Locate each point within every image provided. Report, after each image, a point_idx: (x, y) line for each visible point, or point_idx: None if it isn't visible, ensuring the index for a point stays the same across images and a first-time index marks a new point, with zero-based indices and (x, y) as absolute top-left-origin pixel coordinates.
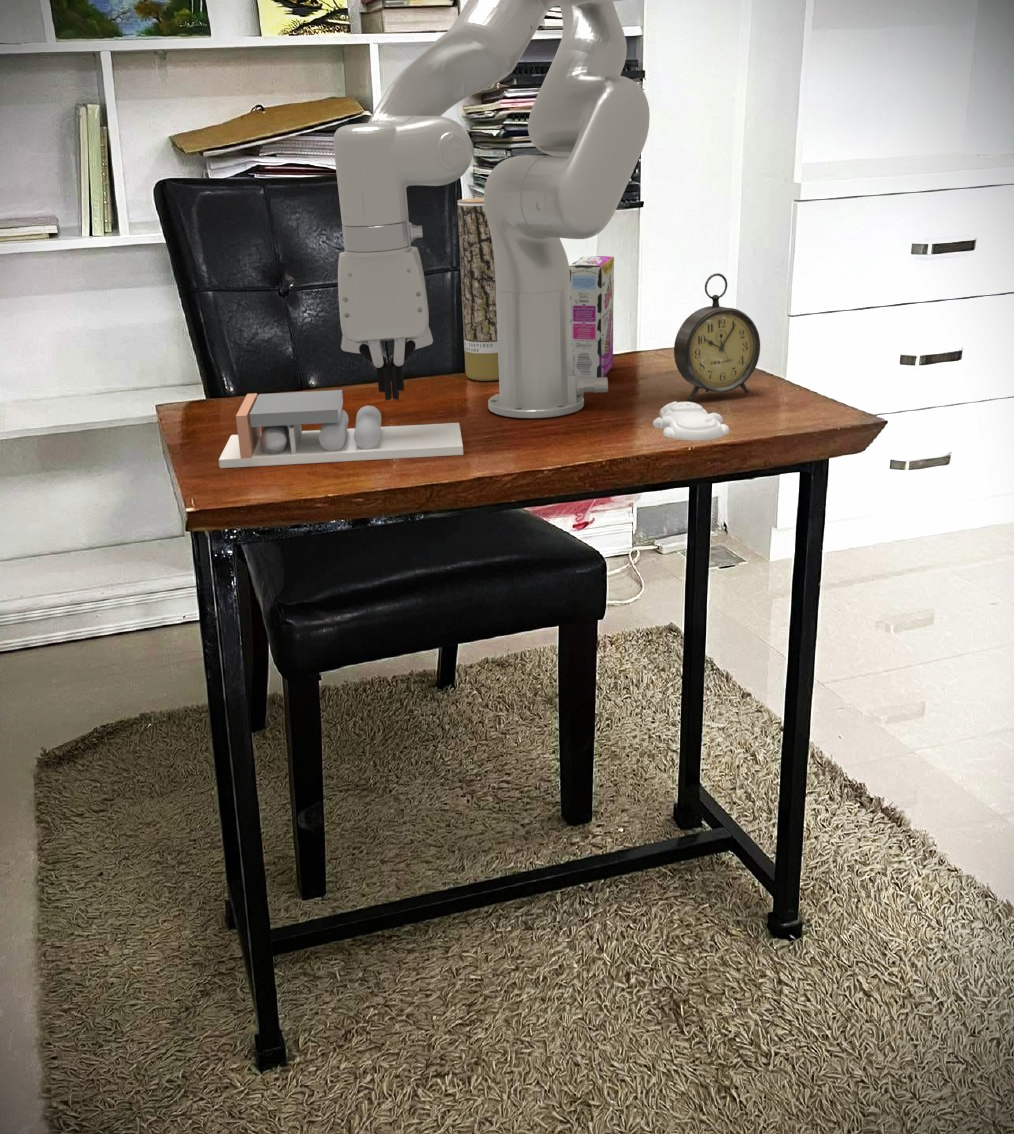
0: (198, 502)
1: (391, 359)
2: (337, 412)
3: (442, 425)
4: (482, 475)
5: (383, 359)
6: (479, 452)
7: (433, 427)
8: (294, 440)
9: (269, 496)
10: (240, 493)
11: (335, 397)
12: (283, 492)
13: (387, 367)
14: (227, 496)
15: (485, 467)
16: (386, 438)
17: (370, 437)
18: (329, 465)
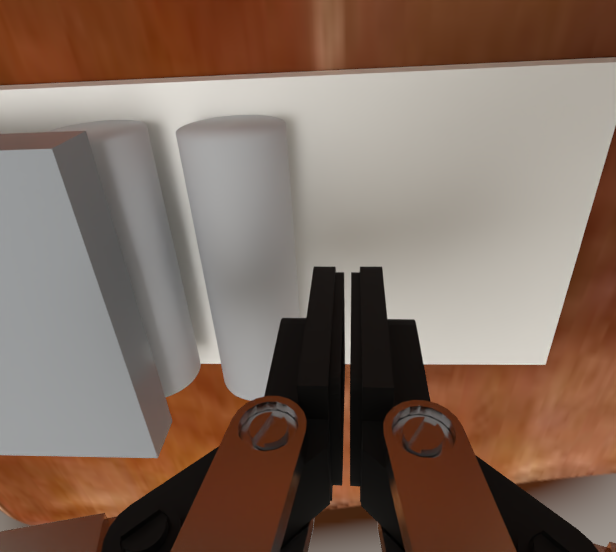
0: (7, 505)
1: (364, 490)
2: (159, 449)
3: (547, 100)
4: (536, 475)
5: (312, 515)
6: (588, 333)
7: (502, 129)
8: None
9: (120, 502)
10: (58, 483)
11: (81, 300)
12: (138, 490)
13: (335, 479)
14: (42, 491)
15: (560, 436)
16: (316, 249)
17: None
18: None
